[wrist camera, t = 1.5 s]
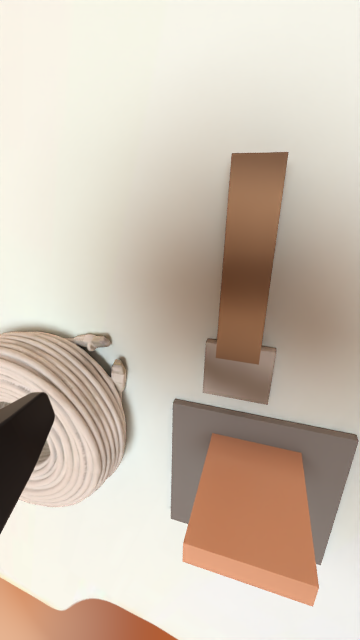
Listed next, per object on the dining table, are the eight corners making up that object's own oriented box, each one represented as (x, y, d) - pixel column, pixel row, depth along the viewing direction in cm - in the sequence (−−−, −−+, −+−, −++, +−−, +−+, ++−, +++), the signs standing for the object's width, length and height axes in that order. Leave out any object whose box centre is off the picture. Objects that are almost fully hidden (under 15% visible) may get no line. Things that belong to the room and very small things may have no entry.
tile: (301, 452, 23) (318, 587, 14) (297, 470, 23) (312, 608, 15) (212, 433, 24) (183, 542, 16) (211, 449, 25) (182, 563, 17)
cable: (127, 330, 24) (86, 364, 19) (142, 485, 30) (114, 545, 25) (-31, 317, 29) (-100, 341, 24) (9, 453, 35) (-39, 497, 30)
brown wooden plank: (219, 162, 18) (211, 153, 15) (305, 161, 17) (312, 151, 14) (204, 387, 24) (196, 409, 21) (267, 398, 23) (267, 423, 20)
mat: (356, 434, 21) (358, 440, 21) (319, 557, 26) (320, 565, 26) (175, 399, 25) (172, 403, 24) (172, 513, 30) (170, 518, 29)
